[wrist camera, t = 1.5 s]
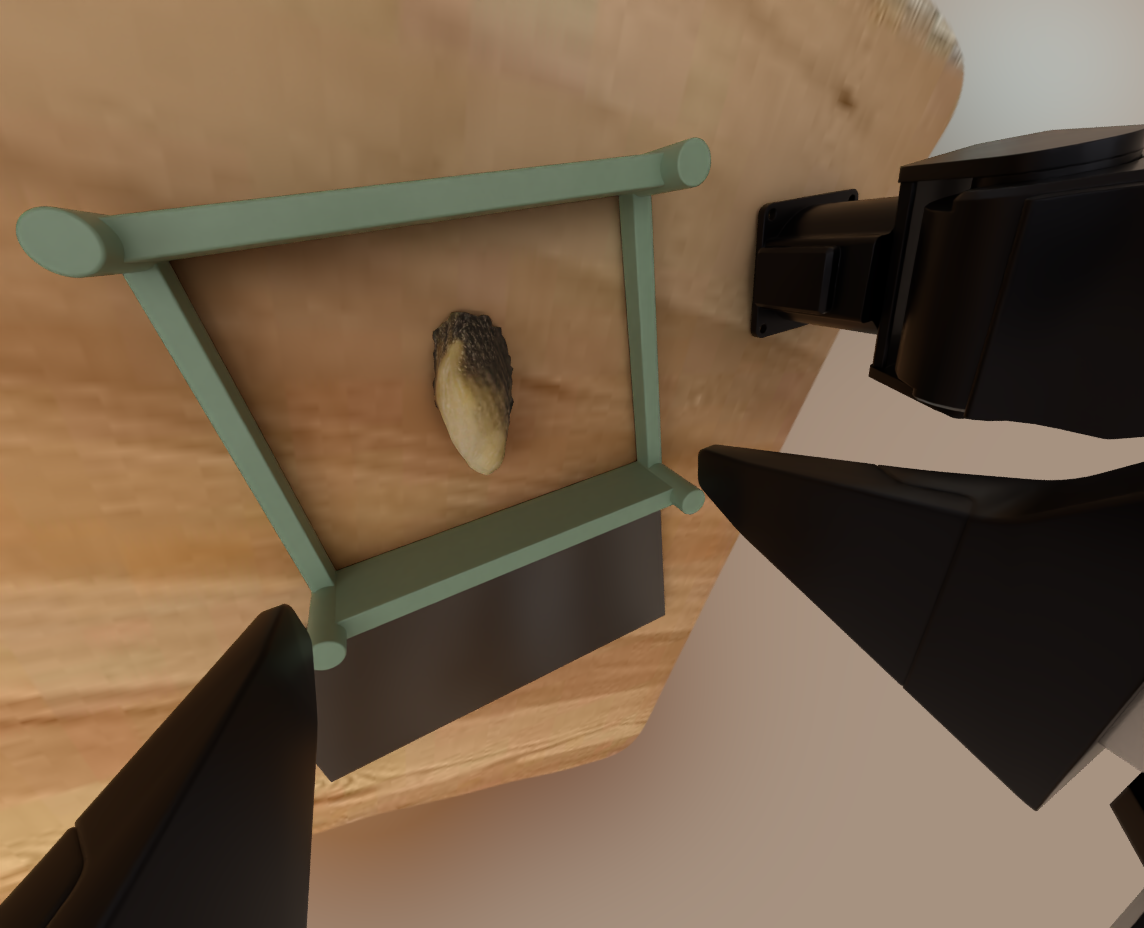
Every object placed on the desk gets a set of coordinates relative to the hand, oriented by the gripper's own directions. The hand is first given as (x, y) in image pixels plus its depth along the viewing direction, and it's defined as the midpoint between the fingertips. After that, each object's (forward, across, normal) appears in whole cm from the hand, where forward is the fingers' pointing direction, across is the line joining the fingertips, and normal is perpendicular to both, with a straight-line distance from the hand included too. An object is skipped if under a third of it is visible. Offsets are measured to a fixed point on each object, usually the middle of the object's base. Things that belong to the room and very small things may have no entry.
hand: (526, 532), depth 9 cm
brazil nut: (+12, -1, 0) cm, 12 cm away
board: (+11, +1, +14) cm, 18 cm away
